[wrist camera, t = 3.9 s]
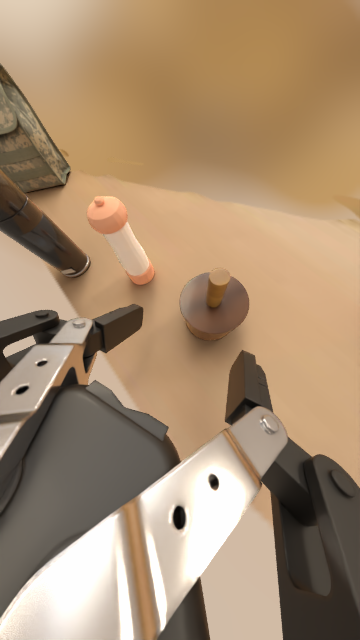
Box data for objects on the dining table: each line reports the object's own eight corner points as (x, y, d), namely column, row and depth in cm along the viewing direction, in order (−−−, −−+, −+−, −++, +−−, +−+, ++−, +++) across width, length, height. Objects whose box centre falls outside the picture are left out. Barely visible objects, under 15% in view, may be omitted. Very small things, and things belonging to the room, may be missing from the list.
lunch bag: (22, 196, 62) (-103, 76, 36) (32, 176, 67) (-70, 58, 41) (66, 188, 60) (-33, 53, 34) (73, 167, 65) (-8, 37, 39)
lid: (169, 293, 27) (159, 264, 19) (222, 266, 28) (233, 228, 20) (200, 347, 23) (201, 339, 15) (261, 314, 24) (293, 290, 16)
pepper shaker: (127, 283, 39) (68, 213, 21) (134, 263, 41) (85, 184, 23) (151, 285, 38) (110, 213, 20) (156, 264, 40) (124, 182, 22)
